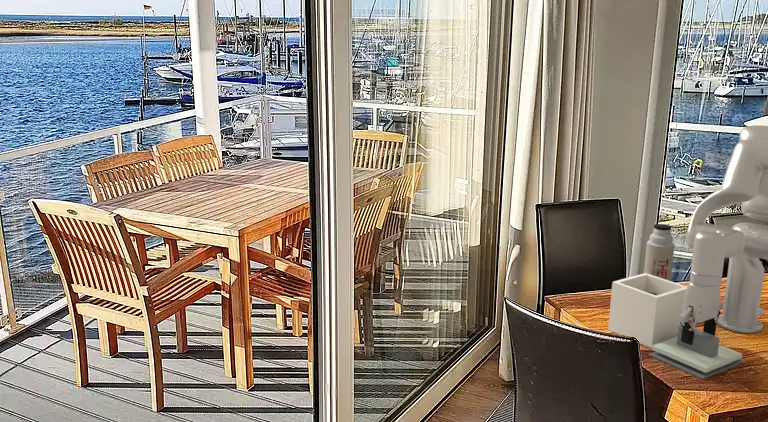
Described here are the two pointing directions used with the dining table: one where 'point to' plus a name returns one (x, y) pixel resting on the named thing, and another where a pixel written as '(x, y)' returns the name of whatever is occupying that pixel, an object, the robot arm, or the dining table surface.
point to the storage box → (646, 308)
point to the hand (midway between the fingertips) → (697, 339)
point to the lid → (698, 351)
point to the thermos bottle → (660, 252)
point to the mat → (690, 369)
